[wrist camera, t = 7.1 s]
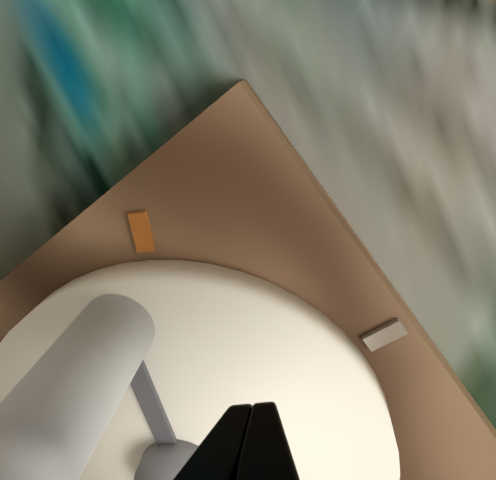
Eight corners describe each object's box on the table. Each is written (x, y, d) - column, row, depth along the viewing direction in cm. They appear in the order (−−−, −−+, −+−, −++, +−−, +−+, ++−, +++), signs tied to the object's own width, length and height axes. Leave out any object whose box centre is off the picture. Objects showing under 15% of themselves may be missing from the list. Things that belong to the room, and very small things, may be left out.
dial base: (175, 577, 24) (166, 612, 23) (-85, 353, 20) (-118, 378, 18) (515, 457, 18) (536, 495, 16) (245, 79, 13) (237, 82, 12)
